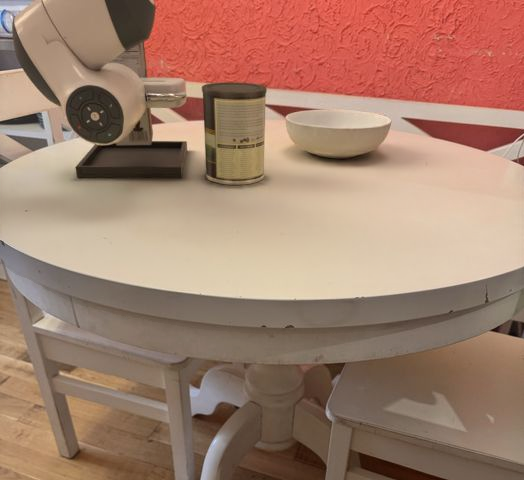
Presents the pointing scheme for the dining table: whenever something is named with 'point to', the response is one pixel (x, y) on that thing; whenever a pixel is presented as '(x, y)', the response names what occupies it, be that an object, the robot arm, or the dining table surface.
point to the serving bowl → (337, 132)
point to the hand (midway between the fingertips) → (129, 85)
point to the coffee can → (234, 132)
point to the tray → (134, 161)
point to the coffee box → (143, 128)
